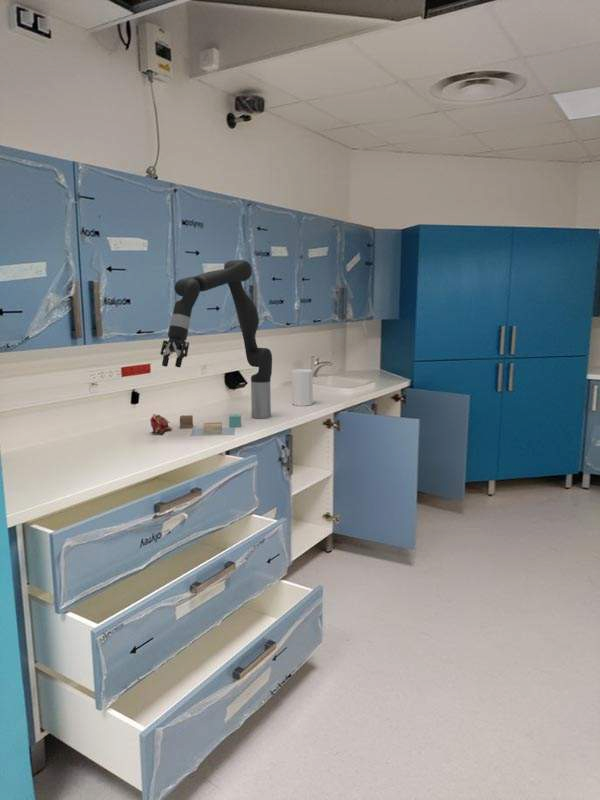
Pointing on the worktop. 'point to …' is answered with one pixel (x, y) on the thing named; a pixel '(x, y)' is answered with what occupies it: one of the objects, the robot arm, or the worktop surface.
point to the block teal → (234, 420)
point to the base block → (212, 428)
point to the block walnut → (186, 421)
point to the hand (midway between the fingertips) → (170, 366)
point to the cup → (302, 387)
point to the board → (201, 433)
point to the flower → (159, 424)
